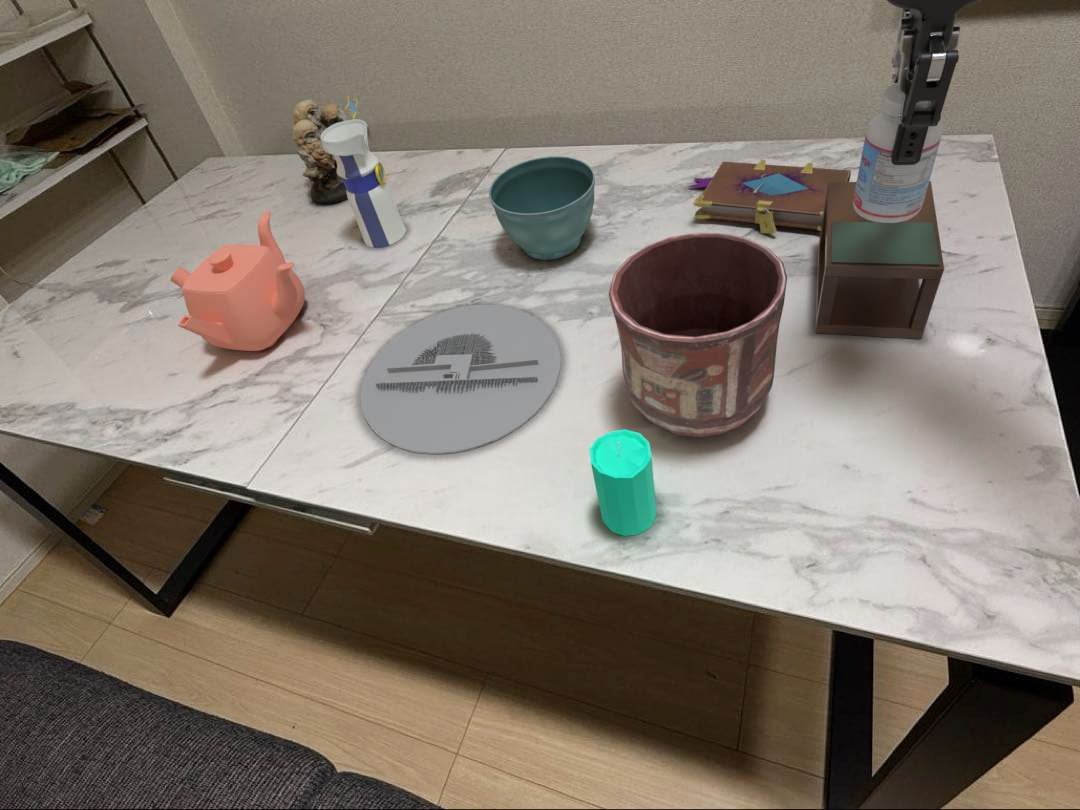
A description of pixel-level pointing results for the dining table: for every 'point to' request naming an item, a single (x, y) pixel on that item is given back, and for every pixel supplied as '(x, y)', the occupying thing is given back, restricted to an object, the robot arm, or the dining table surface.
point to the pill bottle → (892, 167)
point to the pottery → (699, 330)
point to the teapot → (242, 294)
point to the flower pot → (545, 204)
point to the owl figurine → (318, 150)
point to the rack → (876, 269)
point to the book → (767, 194)
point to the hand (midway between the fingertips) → (901, 143)
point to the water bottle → (363, 180)
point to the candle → (624, 481)
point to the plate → (460, 379)
